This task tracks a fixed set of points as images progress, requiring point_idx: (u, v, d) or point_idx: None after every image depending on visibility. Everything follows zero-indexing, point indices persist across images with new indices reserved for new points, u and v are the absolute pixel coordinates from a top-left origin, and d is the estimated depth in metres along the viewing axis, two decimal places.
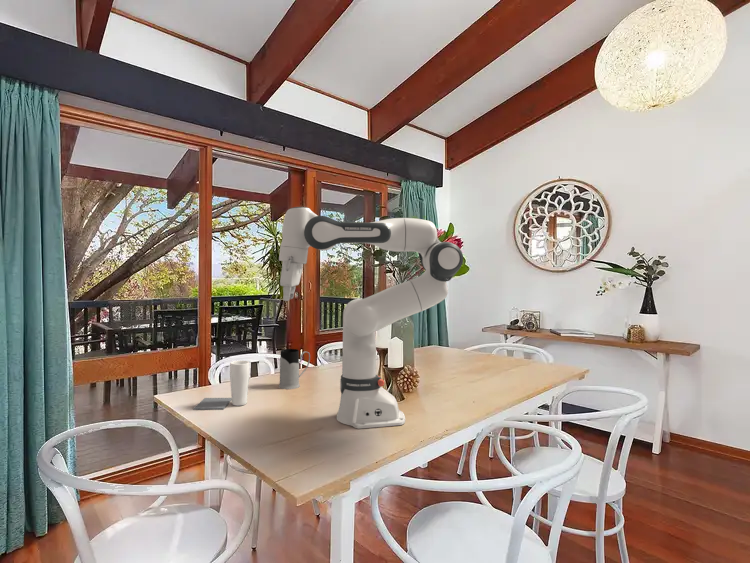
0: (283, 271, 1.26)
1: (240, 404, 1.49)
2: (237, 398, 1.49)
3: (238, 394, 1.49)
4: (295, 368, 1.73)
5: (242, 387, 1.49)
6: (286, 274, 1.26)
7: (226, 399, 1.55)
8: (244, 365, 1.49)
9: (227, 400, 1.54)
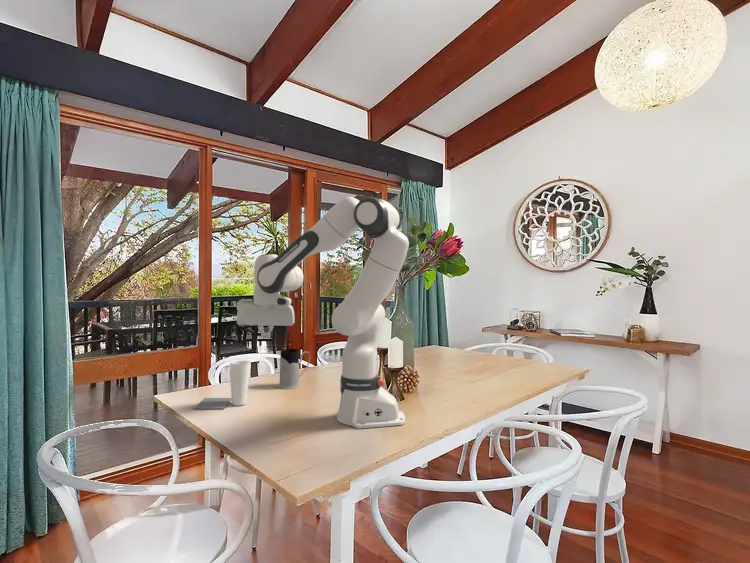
0: None
1: (240, 404, 1.49)
2: (237, 398, 1.49)
3: (238, 394, 1.49)
4: (295, 368, 1.73)
5: (242, 387, 1.49)
6: None
7: (226, 399, 1.55)
8: (244, 365, 1.49)
9: (227, 400, 1.54)
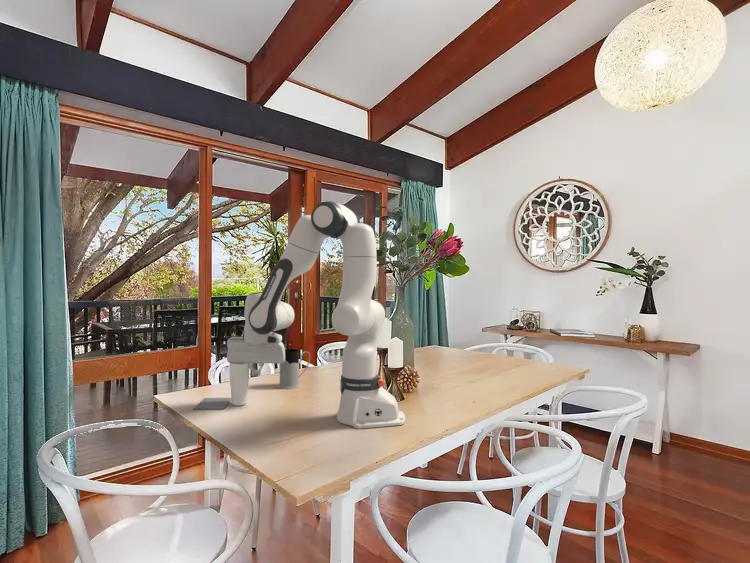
0: None
1: (240, 404, 1.49)
2: (237, 398, 1.49)
3: (238, 394, 1.49)
4: (295, 368, 1.73)
5: (242, 387, 1.49)
6: None
7: (226, 399, 1.55)
8: (244, 365, 1.49)
9: (227, 400, 1.54)
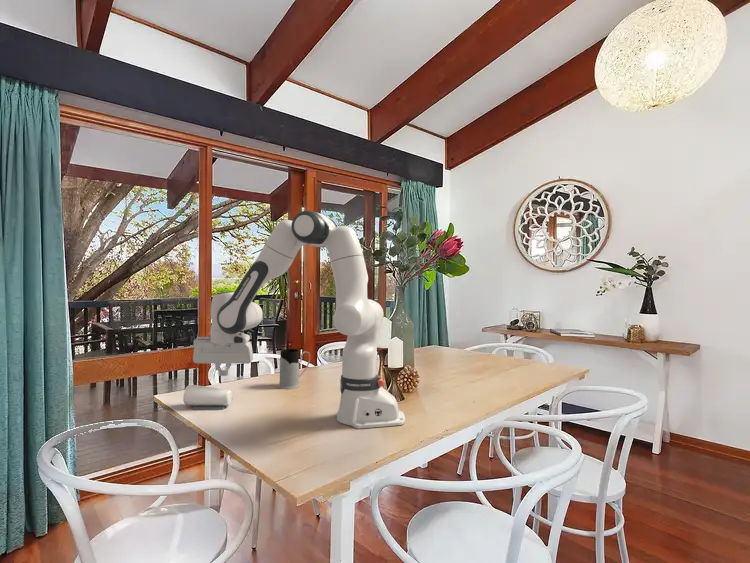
0: None
1: (226, 402, 1.46)
2: (220, 404, 1.46)
3: (215, 403, 1.46)
4: (295, 368, 1.73)
5: (207, 400, 1.45)
6: None
7: None
8: (184, 397, 1.44)
9: None
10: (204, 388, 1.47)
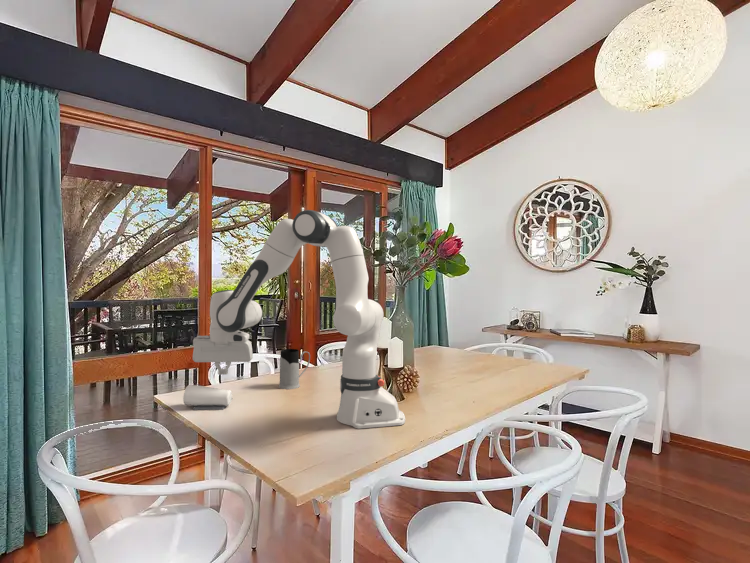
0: None
1: (226, 402, 1.46)
2: (220, 404, 1.46)
3: (215, 403, 1.46)
4: (295, 368, 1.73)
5: (207, 400, 1.45)
6: None
7: None
8: (184, 398, 1.44)
9: None
10: (204, 388, 1.47)
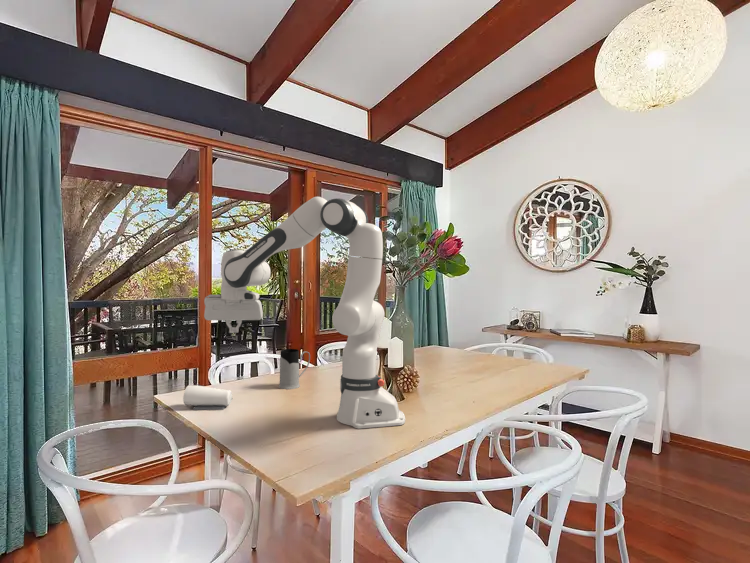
0: None
1: (226, 402, 1.46)
2: (220, 404, 1.46)
3: (215, 403, 1.46)
4: (295, 368, 1.73)
5: (207, 400, 1.45)
6: None
7: None
8: (184, 398, 1.44)
9: None
10: (204, 388, 1.47)
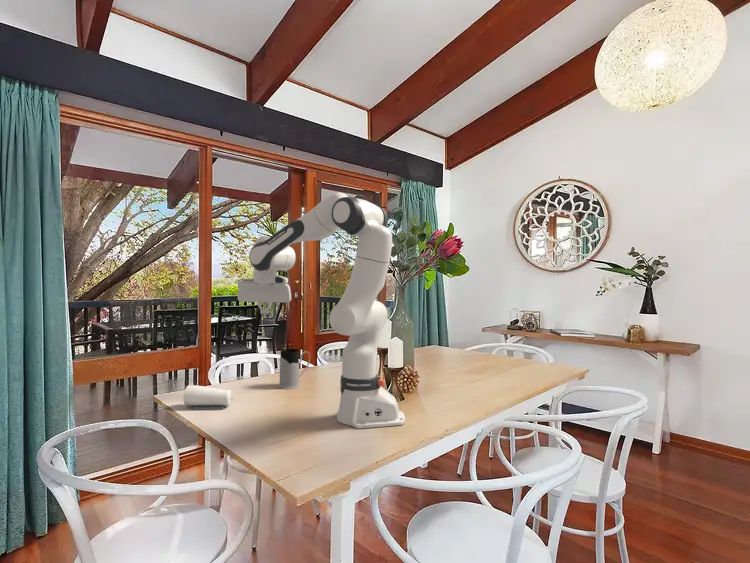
0: None
1: (226, 402, 1.46)
2: (220, 404, 1.46)
3: (215, 403, 1.46)
4: (295, 368, 1.73)
5: (207, 400, 1.45)
6: None
7: None
8: (184, 398, 1.44)
9: None
10: (204, 388, 1.47)
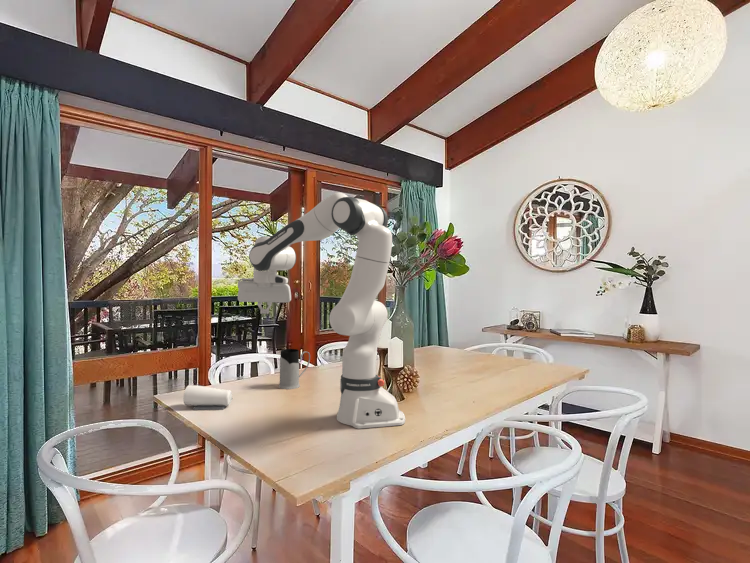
0: None
1: (226, 402, 1.46)
2: (220, 404, 1.46)
3: (215, 403, 1.46)
4: (295, 368, 1.73)
5: (207, 400, 1.45)
6: None
7: None
8: (184, 398, 1.44)
9: None
10: (204, 388, 1.47)
